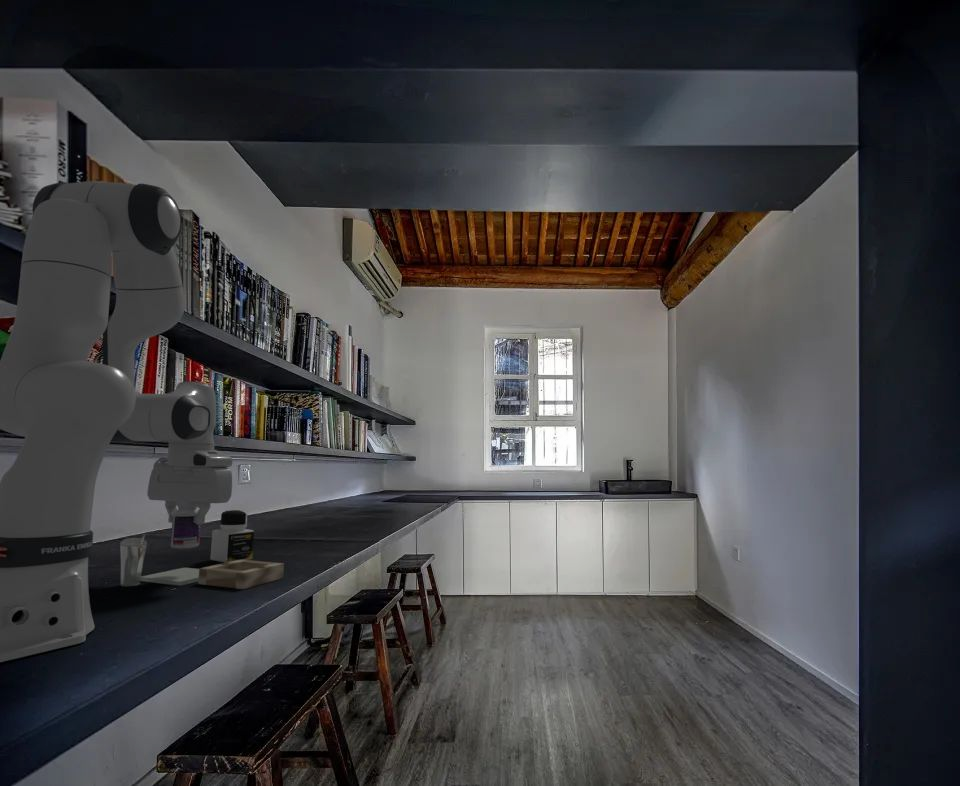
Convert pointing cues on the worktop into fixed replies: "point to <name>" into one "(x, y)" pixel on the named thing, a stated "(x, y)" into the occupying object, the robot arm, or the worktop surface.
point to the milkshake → (132, 560)
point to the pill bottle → (185, 526)
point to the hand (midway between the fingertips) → (186, 523)
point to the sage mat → (174, 577)
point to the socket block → (241, 574)
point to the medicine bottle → (232, 538)
